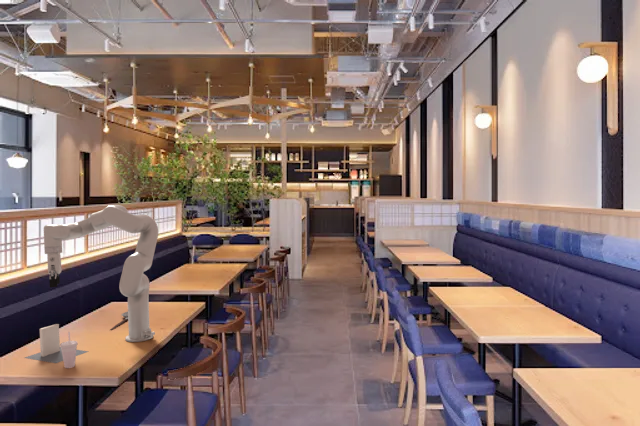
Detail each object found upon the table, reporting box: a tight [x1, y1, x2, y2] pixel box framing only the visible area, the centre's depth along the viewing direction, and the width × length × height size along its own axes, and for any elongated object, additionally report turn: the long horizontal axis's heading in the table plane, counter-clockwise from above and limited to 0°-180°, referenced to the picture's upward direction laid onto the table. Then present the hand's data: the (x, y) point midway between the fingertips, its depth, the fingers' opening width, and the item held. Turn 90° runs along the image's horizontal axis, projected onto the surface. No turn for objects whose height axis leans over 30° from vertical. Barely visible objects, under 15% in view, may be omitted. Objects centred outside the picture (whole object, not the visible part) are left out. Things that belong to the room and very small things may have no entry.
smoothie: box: [60, 331, 79, 369], centre depth 196 cm, size 6×6×14 cm
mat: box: [24, 347, 89, 364], centre depth 211 cm, size 20×16×1 cm
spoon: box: [109, 311, 128, 331], centre depth 265 cm, size 11×33×3 cm, turn 178°
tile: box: [39, 323, 61, 357], centre depth 212 cm, size 2×8×12 cm, turn 156°
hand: (54, 285), depth 233 cm, fingers open, 9 cm apart
